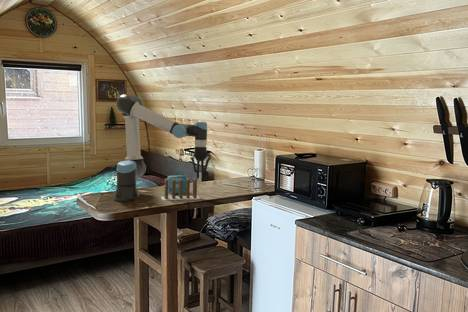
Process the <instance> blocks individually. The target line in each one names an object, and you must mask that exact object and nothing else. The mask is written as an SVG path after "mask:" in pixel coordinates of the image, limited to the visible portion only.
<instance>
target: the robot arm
mask: <svg viewBox="0 0 468 312" xmlns="http://www.w3.org/2000/svg"><path fill="white" fill-rule="evenodd" d="M115 104H116V108H117V110H118V111H119V112H120V113H121V114H122V115H121V116H122V118H124V122H125V125H124V126H125V141H126V156H125V158H124V160H121V161H119V162H118V163H117V165H116V188H115V191H114V194H113V200H114V201H117V202H134V201H135V200H138V199H139V198H140V194H139V192H138V189H137V179H141V178H142V177H143V176H144V175H145V173H146V171H147V165H146V164H145V162H144V157H143V156H142V155H141V139H140V138H141V137H140V120H142V121H144V122H146V123H148V124H150V125H153V126H154V127H157V128H159V129H160V130H162V131H165V132H167V133H168V134H171V135H173V137H175V138H176V139H177V138H178V139H182V138H185V137H194V154H193V155H192V156H190V157H189V159H190V160H191V164H192V168H193V172H194V173H196V179H197V184H199V185H200V184H202V179H203V178H204V173H206V172H207V170H208V166H209V162H210V160H211V157H210V156H208V154H207V150H208V148H207V143H208V123H207V122H206V121H195V124H188V123H187V124H186V123H179V122H176V121H174V120H172V119H170V118H168V117H166V116H164V115H162V114H160V113H158V112H156V111H154V110H152V109H149V108H148V107H145V106H144V105H143V100H142V99H141V98H140V96H137V95H135V94H126V93H125V94H121V95H120V96H119V97H117V99H116V102H115ZM139 119H140V120H139ZM195 160H196V163H195ZM204 161H205V162H204Z"/></svg>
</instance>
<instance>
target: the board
mask: <svg viewBox="0 0 468 312" xmlns="http://www.w3.org/2000/svg"><path fill="white" fill-rule="evenodd" d="M160 198H161V201H177V200H180V201H181V200H201V198H200V197H199V195H197V198H193V195H190V198H186V195H183V199H180V198H179V195H175V199H172V195H168V199H165V196H160Z"/></svg>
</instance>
